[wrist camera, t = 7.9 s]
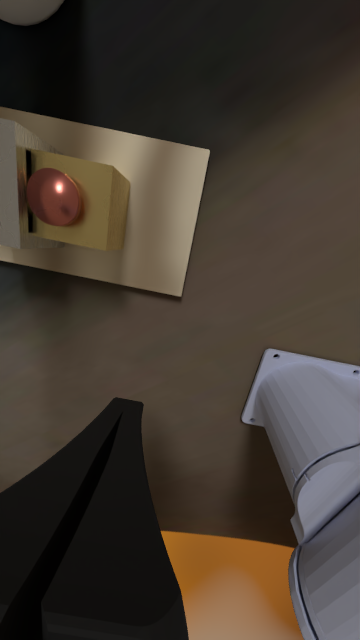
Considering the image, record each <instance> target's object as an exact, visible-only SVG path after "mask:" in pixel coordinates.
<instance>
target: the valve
mask: <svg viewBox="0 0 360 640" xmlns="http://www.w3.org/2000/svg"><path fill="white" fill-rule="evenodd" d="M31 169H32V173H28V172H26V177H27V209H28V217H31V218H33V236H37V237H41V238H46V239H51V240H56V241H61V242H66V243H70V244H75V245H80V246H85V247H90V248H95V249H99V250H104V251H110V250H121V249H123V248H124V239H125V229H126V220H127V211H128V201H129V192H130V182H129V181H128V180H127V179H126V178H125V177H124V176H123V175H122V174H121V173H120V172H119V171H118V170H117V169H116V168H115V167H114V166H112V165H107V164H102V163H98V162H93V161H88V160H83V159H79V158H74V157H69V156H64V155H60V154H55V153H50V152H45V151H41V150H36V149H31Z"/></svg>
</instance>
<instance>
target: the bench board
mask: <svg viewBox="0 0 360 640" xmlns="http://www.w3.org/2000/svg"><path fill="white" fill-rule="evenodd" d="M0 118H2V119H7V120H12V121H15V122H17V123H18V124H20V125H21V126H23V127H24V128H26V129H27V130H29V131H30V132H32V133H33V134H34V135H36V136H37V137H39V138H40V139H42V140H43V141H45V142H46V143H48V144H49V145H51V146H52V147H54V148H55V149H57V150H58V151H59V152H61V153H62V154H64V155H65V156H69V157H74V158H79V159H83V160H88V161H93V162H98V163H102V164H107V165H112V166H114V167H115V168H116V169H117V170H118V171H119V172H120V173H121V174H122V175H123V176H124V177H125V178H126V179H127V180H128V181H129V182H130V192H129V201H128V211H127V220H126V229H125V239H124V248H123V249H121V250H110V251H104V250H99V249H95V248H90V247H85V246H80V245H75V244H70V243H66V242H65V247H60V248H31V249H18V248H13V247H8V246H3V245H0V260H1V261H6V262H11V263H16V264H21V265H26V266H31V267H36V268H41V269H46V270H51V271H56V272H61V273H66V274H71V275H76V276H81V277H86V278H91V279H96V280H101V281H105V282H110V283H115V284H120V285H125V286H130V287H135V288H140V289H145V290H150V291H155V292H160V293H165V294H170V295H175V296H180V297H181V295H182V290H183V285H184V280H185V275H186V270H187V265H188V260H189V255H190V250H191V245H192V240H193V235H194V230H195V225H196V220H197V214H198V209H199V204H200V199H201V194H202V189H203V184H204V179H205V174H206V169H207V164H208V159H209V154H210V150H207V149H202V148H197V147H192V146H188V145H183V144H178V143H173V142H168V141H163V140H159V139H154V138H149V137H144V136H139V135H135V134H130V133H125V132H120V131H115V130H110V129H106V128H101V127H96V126H91V125H86V124H82V123H77V122H72V121H67V120H62V119H57V118H53V117H48V116H43V115H38V114H33V113H29V112H24V111H19V110H14V109H9V108H4V107H0ZM26 172H28V173H32V169H31V164H28V163H26ZM28 228H33V218H31V217H28Z"/></svg>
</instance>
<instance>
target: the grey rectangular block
mask: <svg viewBox="0 0 360 640" xmlns="http://www.w3.org/2000/svg"><path fill="white" fill-rule="evenodd" d="M31 149H36V150H41V151H45V152H50V153H55V154H60V155H64V154H62V153H61V152H59V151H58V150H57V149H55V148H54V147H52V146H51V145H49V144H48V143H46V142H45V141H43V140H42V139H40V138H39V137H37V136H36V135H34V134H33V133H32V132H30V131H29V130H27V129H26V128H24V127H23V126H21V125H20V124H18V123H17V122H15V121H12V120H7V119H2V118H0V245H3V246H8V247H13V248H18V249H31V248H60V247H65V242H61V241H56V240H51V239H46V238H41V237H37V236H33V228H28V209H27V177H26V163H28V164H31ZM64 156H65V155H64Z"/></svg>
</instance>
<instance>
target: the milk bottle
mask: <svg viewBox="0 0 360 640" xmlns="http://www.w3.org/2000/svg"><path fill="white" fill-rule="evenodd" d="M64 1H65V0H0V19H1V20H3V21H6V22H9V23H11V24H14V25H23V26H29V25H34V24H39V23H40V22H42V21H44V20H47V19H48V18H49V17H50V16H52V15H53V14H54V13H55V12H56V11H57V10H58V9H59V7H60V6H61V4H62V3H63V2H64Z"/></svg>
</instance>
